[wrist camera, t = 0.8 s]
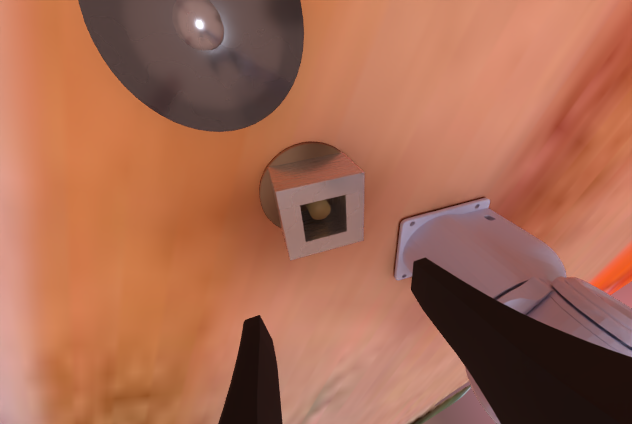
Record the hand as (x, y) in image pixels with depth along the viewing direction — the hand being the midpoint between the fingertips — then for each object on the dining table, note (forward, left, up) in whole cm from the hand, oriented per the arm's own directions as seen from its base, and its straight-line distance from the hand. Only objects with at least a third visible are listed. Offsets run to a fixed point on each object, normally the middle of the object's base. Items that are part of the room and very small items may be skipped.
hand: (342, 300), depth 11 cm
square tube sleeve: (-1, -1, -9) cm, 9 cm away
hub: (+3, -11, -9) cm, 15 cm away
